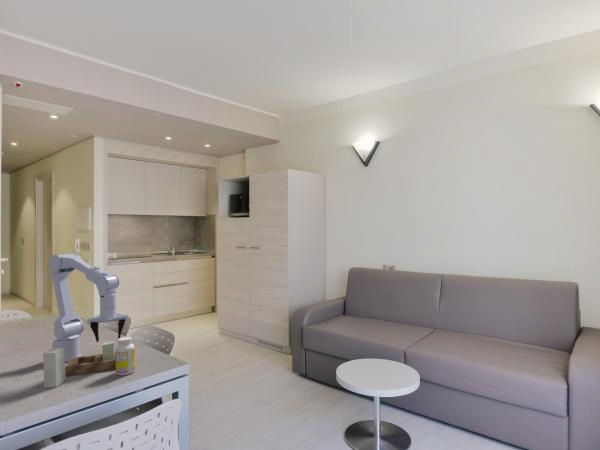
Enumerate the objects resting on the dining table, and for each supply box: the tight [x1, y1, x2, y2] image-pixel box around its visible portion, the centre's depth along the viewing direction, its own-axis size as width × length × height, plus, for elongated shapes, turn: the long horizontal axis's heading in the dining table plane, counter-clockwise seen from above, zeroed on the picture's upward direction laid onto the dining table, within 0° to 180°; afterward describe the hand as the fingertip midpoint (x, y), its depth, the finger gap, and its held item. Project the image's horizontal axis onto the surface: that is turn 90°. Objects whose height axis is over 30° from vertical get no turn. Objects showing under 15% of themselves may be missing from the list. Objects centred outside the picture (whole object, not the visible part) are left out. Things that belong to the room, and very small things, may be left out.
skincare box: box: [42, 347, 66, 389], centre depth 133 cm, size 6×4×12 cm
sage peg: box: [101, 340, 116, 361], centre depth 152 cm, size 4×4×8 cm
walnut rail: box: [65, 353, 116, 377], centre depth 150 cm, size 20×11×3 cm, turn 112°
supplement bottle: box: [115, 336, 136, 376], centre depth 143 cm, size 7×7×13 cm
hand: (108, 340), depth 152 cm, fingers open, 7 cm apart
